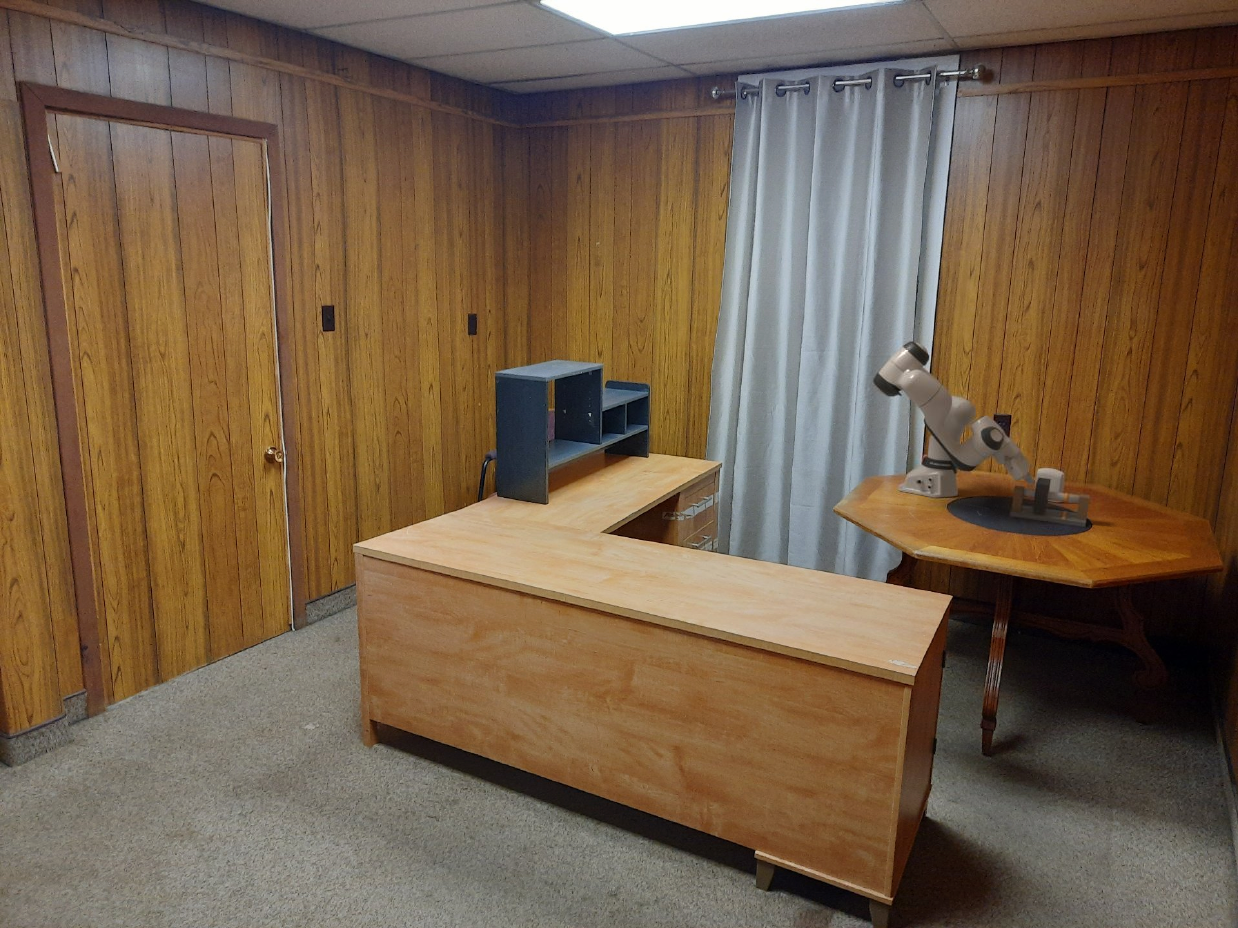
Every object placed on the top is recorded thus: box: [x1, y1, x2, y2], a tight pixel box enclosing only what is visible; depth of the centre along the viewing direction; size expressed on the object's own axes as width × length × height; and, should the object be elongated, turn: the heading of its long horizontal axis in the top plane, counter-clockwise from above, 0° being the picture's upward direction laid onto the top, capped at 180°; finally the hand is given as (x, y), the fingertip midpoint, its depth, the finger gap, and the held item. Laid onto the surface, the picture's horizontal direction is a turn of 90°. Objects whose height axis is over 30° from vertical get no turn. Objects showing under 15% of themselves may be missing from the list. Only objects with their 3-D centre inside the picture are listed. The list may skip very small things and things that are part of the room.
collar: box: [1032, 478, 1051, 512], centre depth 308 cm, size 4×10×10 cm, turn 150°
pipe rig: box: [1009, 485, 1091, 528], centre depth 307 cm, size 24×12×10 cm, turn 60°
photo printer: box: [1034, 467, 1066, 504], centre depth 330 cm, size 10×4×12 cm, turn 39°
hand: (1033, 484), depth 309 cm, fingers closed
